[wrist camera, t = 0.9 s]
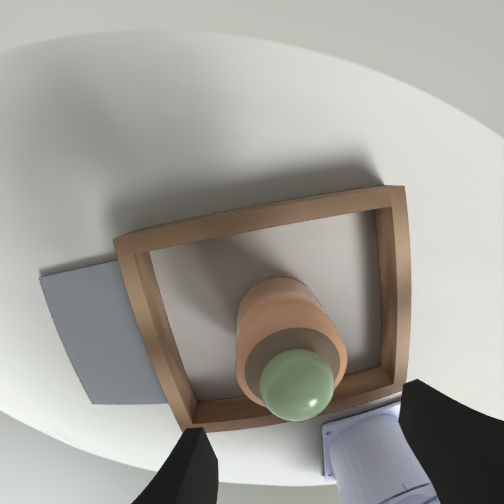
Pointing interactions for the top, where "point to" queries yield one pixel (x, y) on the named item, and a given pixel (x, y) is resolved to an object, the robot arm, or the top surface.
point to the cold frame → (260, 217)
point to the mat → (102, 335)
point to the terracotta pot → (287, 349)
